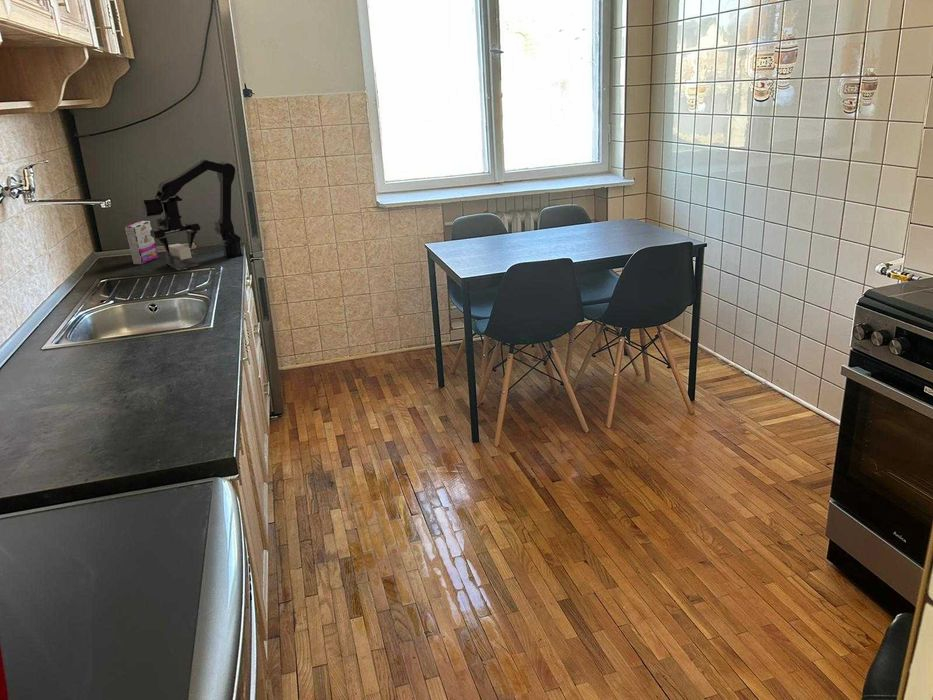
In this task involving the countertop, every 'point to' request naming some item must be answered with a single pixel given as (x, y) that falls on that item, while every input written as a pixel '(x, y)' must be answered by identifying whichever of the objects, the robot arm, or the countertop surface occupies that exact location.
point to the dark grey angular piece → (181, 261)
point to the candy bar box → (141, 242)
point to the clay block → (180, 251)
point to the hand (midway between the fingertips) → (179, 250)
